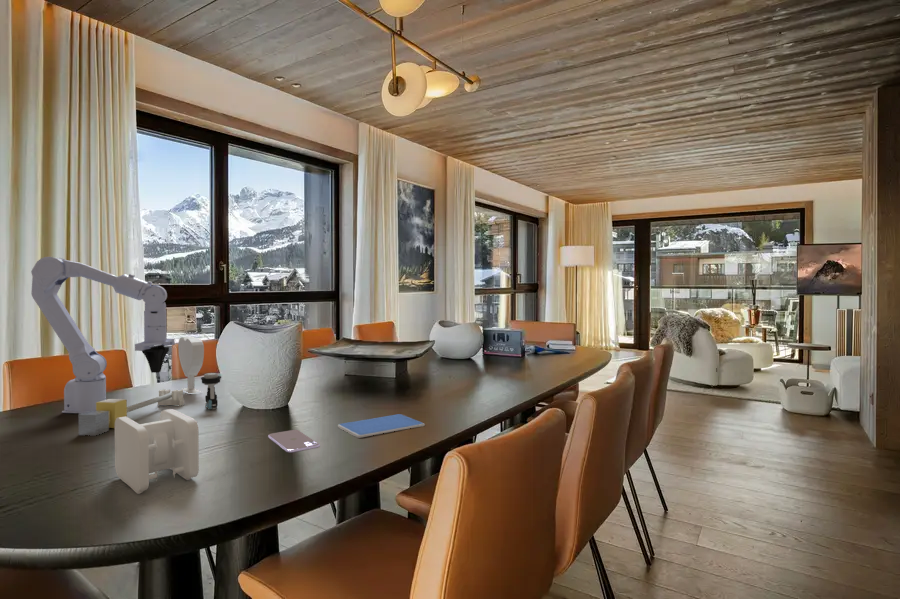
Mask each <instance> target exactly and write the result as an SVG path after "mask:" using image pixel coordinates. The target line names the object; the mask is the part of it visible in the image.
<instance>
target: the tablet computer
mask: <svg viewBox="0 0 900 599" xmlns="http://www.w3.org/2000/svg"><path fill="white" fill-rule="evenodd" d="M425 425H426V424H425V423H423V422H422V421H419V420H417V419H414V418H413V417H409V416H407V415H405V414H401V413H397V414H393V415H392V414H391V415H387V416H386V415H385V416H380V417H374V418H368V419H362V420H355V421H349V422H343V423H339V424H337V428H338V429H340V430H342V431H343V430H344V432H346V433H347V432H348V433H347V434H349V435H351V436H354V437H355V438H356V439H362V438H367V437H368V438H369V437H372V436H373V435H374V436H379V435H384V434H388V433H393V432H394V431H395V432H399V431H404V430H411V429H416V428H422V427H425ZM410 428H411V429H410ZM395 432H394V433H395ZM383 433H384V434H383Z"/></svg>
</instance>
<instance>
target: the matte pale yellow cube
mask: <svg viewBox="0 0 900 599" xmlns="http://www.w3.org/2000/svg"><path fill="white" fill-rule="evenodd" d="M127 403H128V402H127V399H123V398H108V399H107V398H106V400H103V401H100V402H96V410H99V411H110V424H109V429H115V420H116V418H119V417H125V416H126V417H128V412H127V407H128V404H127Z"/></svg>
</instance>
